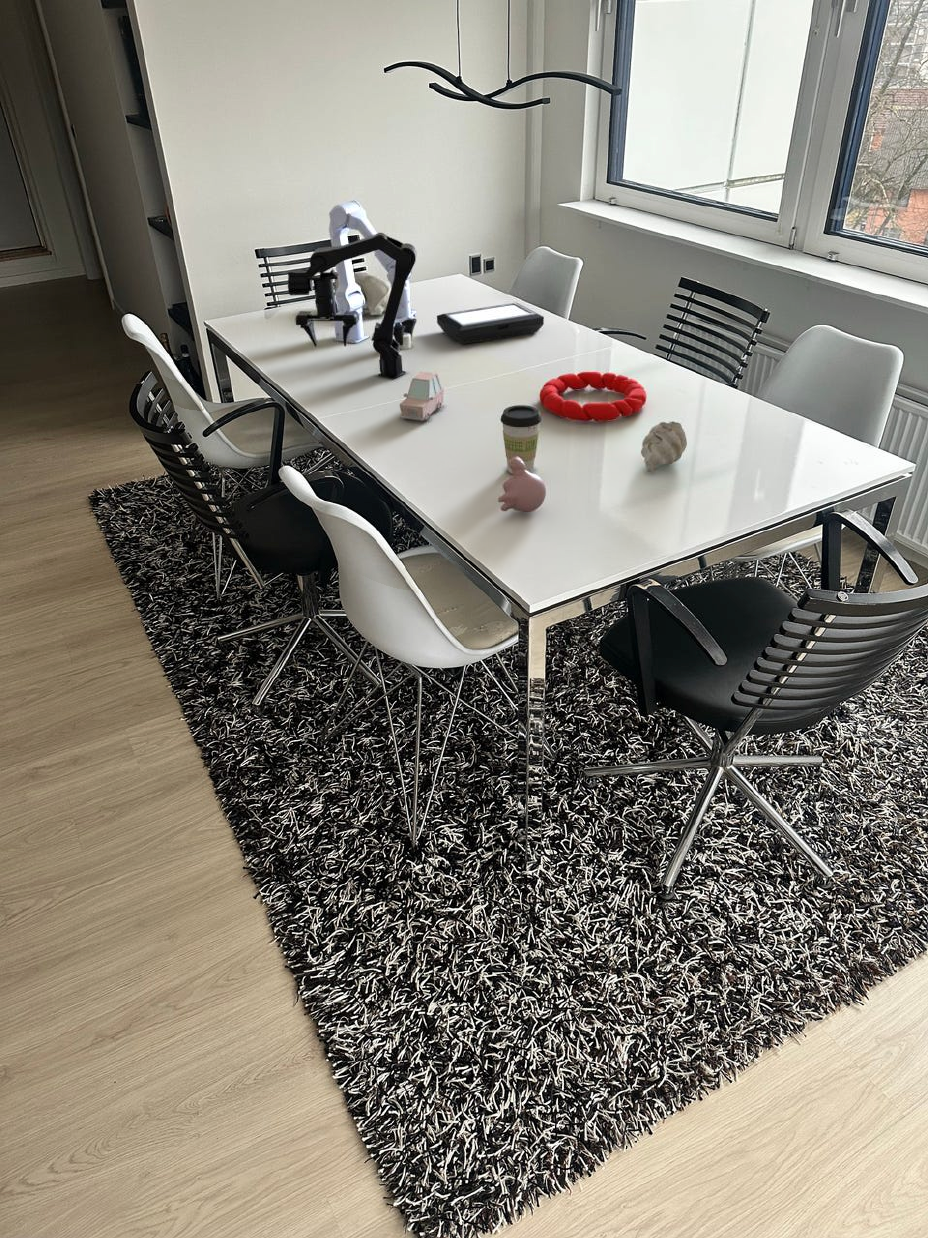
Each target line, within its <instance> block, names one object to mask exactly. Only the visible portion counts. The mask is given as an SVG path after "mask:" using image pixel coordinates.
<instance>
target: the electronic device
mask: <svg viewBox="0 0 928 1238" xmlns="http://www.w3.org/2000/svg"><path fill="white" fill-rule="evenodd" d="M544 320H545V317H544V316H543V315H541V314H539V313H538V312H536V311H533V310H532V309H530V308H528V307H525V305H522V304H520V303H518V302H511V303H504V304H498V305H491V306H485V307H479V308H478V307H477V308H472V309H465V310H459V311H452V312H445V313H441V314H438V315H436V324H438V326H439V328H440V329H441V330H442V332H443V333H445V334H446V335H448V336H449V337H451V338H453V339H454V340H456V341H458V342H459V343H461V345H465V344H472V343H479V342H484V341H490V340H496V339H497V340H498V339H502V338H508V337H509V338H510V337H514V336H521V335H527V334H531V333H532V334H533V333H538V332H539V330H540V329H541V328H542V327H543V326H544V325H545V321H544Z"/></svg>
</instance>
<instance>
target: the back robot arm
mask: <svg viewBox="0 0 928 1238" xmlns="http://www.w3.org/2000/svg"><path fill="white" fill-rule="evenodd" d="M328 215H329V226H328V233H329V238H330V243H331V244H330V245H331V247H338V246H342V245H345V244H348V243H349V240H348V233H349V231H350V230H355V231H358V232H359V233H360V234H361V235H362V237H363V239H364V238H367V237H370V236H373V235H376V234H377V233H378V232H377V231H376V230H375V229H374V226H373V225H372V224H371V222H370V220H369V219H368V218H367V212H366V210H365V209H364V208H363V207H362V205H361V204H360V202H358V201H357V200H351V201H348V202H345V203H342V204H337V205H335V206H333V207H332V208H331V210H330V211H329V212H328ZM374 257H375V258H376V259H377V261H378V262H379V263H380V265H381V266H382V267H383V269H384V270H385V271H386V273H387V274H386V278H387V280H388V281H389V282H388V283H389V284H391V288H392V284H393V280H394V276H395V263H396V261H395V260H394V259H392V258H390V257H389V256H388V255H386V254H385V253H384V252H382V251H380V250H376V251H374ZM335 272H336V273H337V274H339V277H338V282H339V287H338V289H337V290H336V293H335V292H334V294H335V299H336V300H337V301H339V312H338V313H336V315H343V314H344V313H345V312H346V311H357V312H358V313H359V319H360V320H359V321H358V323H357V325H354V326H353V327H352V328H350V331H349V334H348V339H347V343H352V344H358V343H360V342H362V341H364V340H366V339H368V338H369V337H370V336H369V335H368V334H367V335H366V334H364V326H363V315H362V313H361V312H362V308H363V306H364V304H365V299H364V296H363V294H362V292H361V289H360V286H358V285H357V284H356V283H355V279H354V274H353V273H354V268H353V264H352V258H351V259H348V260H345V261H342V262H340V263H339V264H337V265H336V266H335ZM412 273H413V272H412V271H411V272H410V274H409V276H408V278H407V280H406V282H405V286H404V290H403V293H402V297H401V300H400V304H399V308H398V311H397V315H396V318H395V322H394V333H393V339H394V340H396V341H397V342H398V343H399V344H400V346H402V345H403V335H404V332H405V333H410V334H411V340H412V338H413V333H414V330H415V326H416V324H417V318H415V317H417V310H416V309H411V298H410V297H411V296H410V280H409V279H410V278H411V277H412ZM343 325H344V323H343V321H333V326H334V333H335V335H334V336H335V338H334V341H338V342H343Z"/></svg>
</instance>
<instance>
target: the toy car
mask: <svg viewBox="0 0 928 1238" xmlns="http://www.w3.org/2000/svg"><path fill="white" fill-rule="evenodd" d="M441 384H442V383H441V381H440V378H439V375H438V373H436V372H426V371H419V373H417V374H416V375H414V376H413V377H412V378H411V381H410V385H409V388H408V390H407V391H408V392H407V393H404V394H403V397H404V398H405V399H404V400H403V401H401V402H400V403H399V409H400V414H401V418H402V419H407V420H415V421H423V422H424V421H425V422H426V421H429V420H430V416H431V414H433V413H434V412H435V411H440V410H441V408H442V406H443V403H444V395H445V393H444V392H445V388H444V387H442V385H441Z"/></svg>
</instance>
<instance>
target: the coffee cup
mask: <svg viewBox="0 0 928 1238" xmlns="http://www.w3.org/2000/svg"><path fill="white" fill-rule="evenodd" d="M499 419H500V422H501V423H502V435H503V444H504V445H503V446H504V452H505V458H506V464H507V471H508V472H509V473H510V474H512V469H511V468H510V467H509V461H510V460H511V459H512V458H514V457H519V458H520V459H521V460H522V461H523V462H524V464H525V466H526V471H528V472H529V473H532V472H534V465H535V458H536V455H537V450H538V449H537V448H538V443H539V434H540V423H541V422H542V420H543V419H542V415H541V414H540V410H539V409H538V408H537V407H534V406H531V405H525V404H516V405H511V406H508V407H506V408H504V409H503V411H502V414H501V416H500V418H499Z"/></svg>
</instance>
